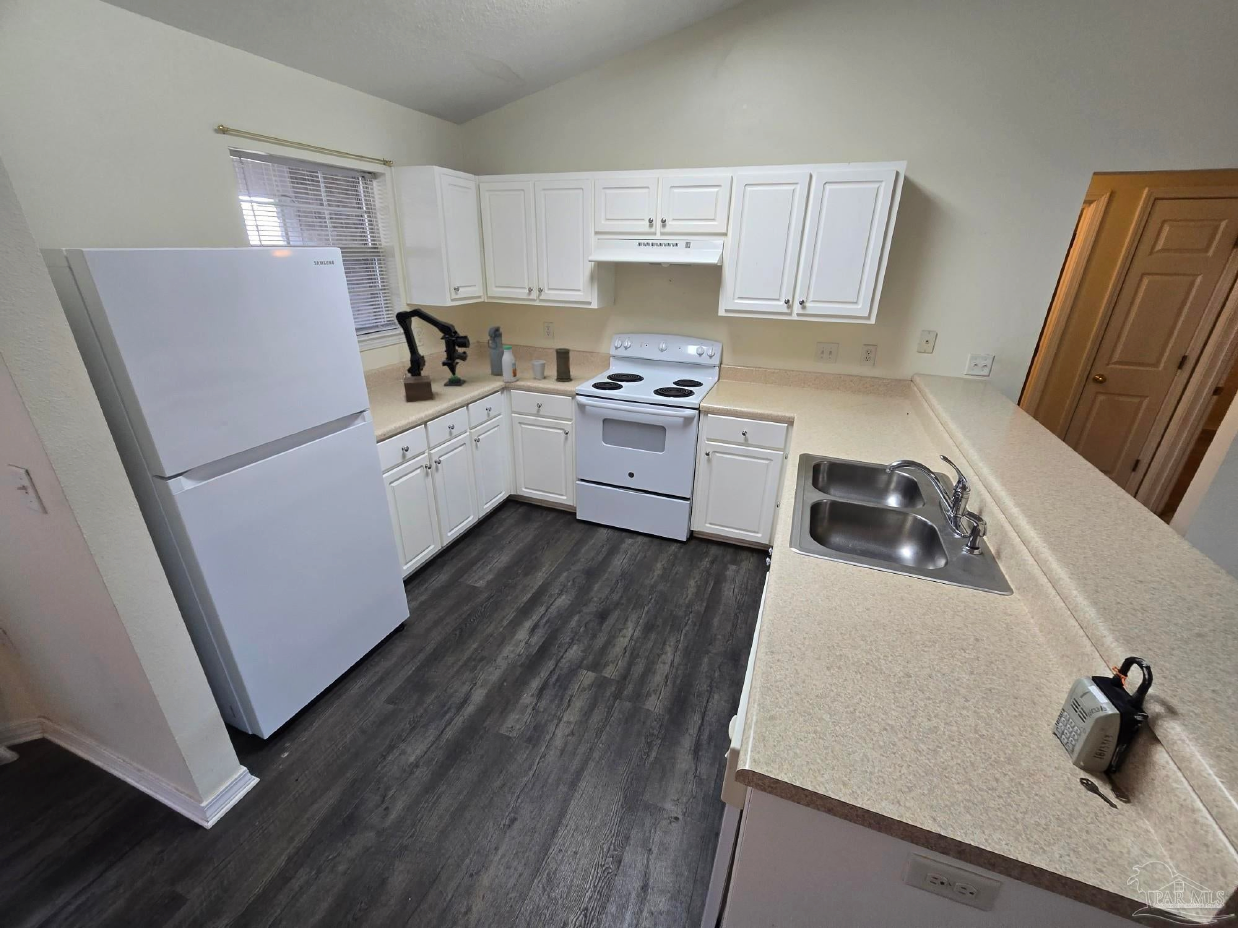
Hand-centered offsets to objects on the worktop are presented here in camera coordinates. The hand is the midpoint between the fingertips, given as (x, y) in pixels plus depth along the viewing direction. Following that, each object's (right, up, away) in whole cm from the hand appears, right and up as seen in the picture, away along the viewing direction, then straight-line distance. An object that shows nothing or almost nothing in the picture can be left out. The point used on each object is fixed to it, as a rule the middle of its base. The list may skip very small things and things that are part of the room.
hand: (454, 375), depth 288 cm
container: (+61, -1, +11) cm, 62 cm away
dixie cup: (+46, +1, +16) cm, 48 cm away
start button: (0, -2, +1) cm, 2 cm away
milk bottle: (+30, -2, +9) cm, 31 cm away
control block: (0, -4, +2) cm, 5 cm away
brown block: (-10, -16, -25) cm, 31 cm away
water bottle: (+20, +5, +25) cm, 32 cm away
